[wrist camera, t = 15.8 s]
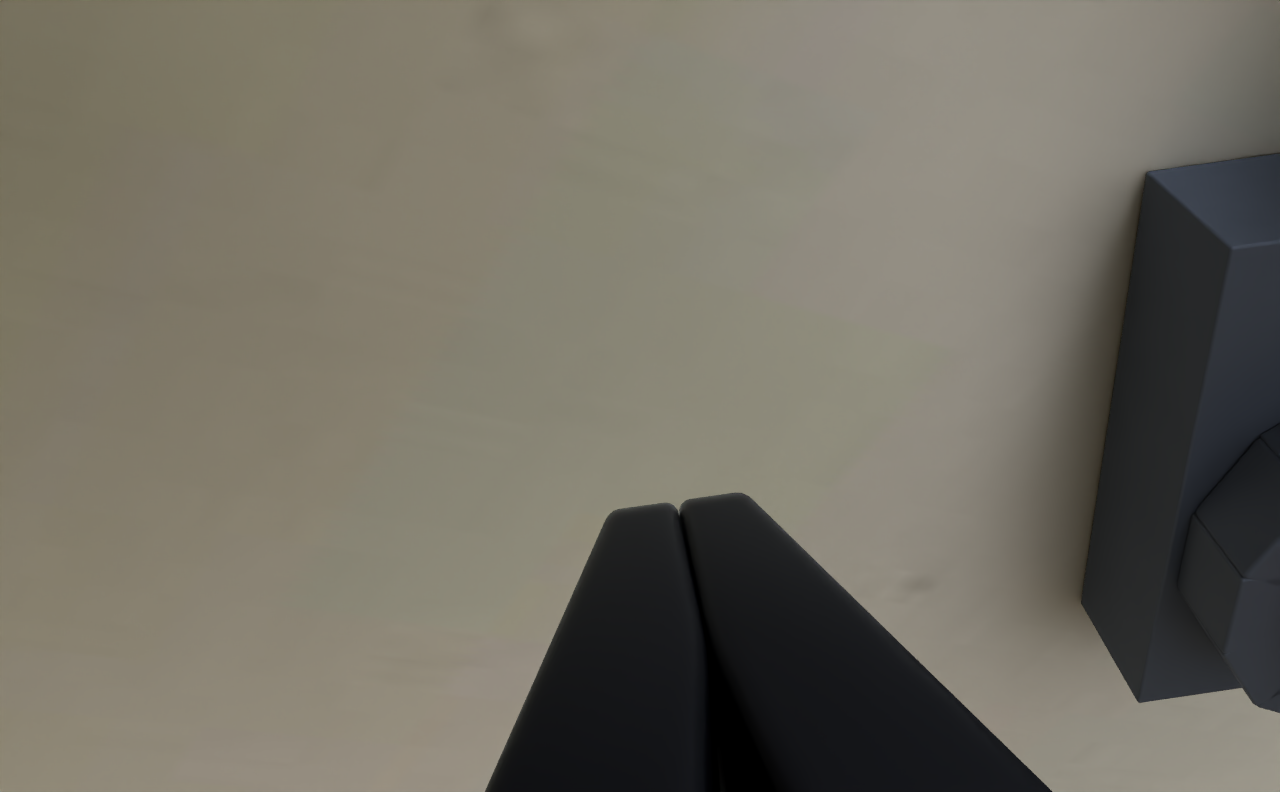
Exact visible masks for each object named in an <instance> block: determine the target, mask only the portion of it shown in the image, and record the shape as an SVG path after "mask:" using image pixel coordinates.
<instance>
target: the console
mask: <svg viewBox="0 0 1280 792" xmlns="http://www.w3.org/2000/svg"><path fill="white" fill-rule="evenodd" d="M1081 604H1082V606H1083V607H1084V609H1085V611H1086V612H1087V614H1088V616H1089V618H1090V619H1091V621H1092V623H1093V625H1094V626H1095V628H1096V630H1097V632H1098V633H1099V635H1100V637H1101V639H1102V640H1103V642H1104V644H1105V646H1106V647H1107V649H1108V651H1109V653H1110V654H1111V656H1112V658H1113V660H1114V661H1115V663H1116V665H1117V667H1118V668H1119V670H1120V672H1121V674H1122V675H1123V677H1124V679H1125V681H1126V682H1127V684H1128V686H1129V688H1130V689H1131V691H1132V693H1133V695H1134V696H1135V698H1136V700H1137V701H1138V702H1139V703H1142V702H1148V701H1155V700H1162V699H1169V698H1175V697H1182V696H1189V695H1196V694H1203V693H1209V692H1216V691H1223V690H1230V689H1236V688H1243V689H1244V691H1245V692H1246V694H1247V695H1248V697H1249V698H1250V700H1251V701H1252V703H1253V704H1255V705H1257V706H1258V707H1260V708H1264V709H1267V710H1271V711H1275V712H1278V713H1280V154H1273V155H1265V156H1258V157H1251V158H1244V159H1236V160H1229V161H1222V162H1214V163H1207V164H1200V165H1193V166H1185V167H1178V168H1171V169H1163V170H1156V171H1149V172H1147V174H1146V179H1145V186H1144V192H1143V199H1142V206H1141V212H1140V219H1139V225H1138V232H1137V238H1136V245H1135V252H1134V258H1133V265H1132V271H1131V278H1130V284H1129V291H1128V298H1127V304H1126V311H1125V317H1124V324H1123V330H1122V337H1121V344H1120V350H1119V357H1118V363H1117V370H1116V376H1115V383H1114V390H1113V396H1112V403H1111V409H1110V416H1109V422H1108V429H1107V436H1106V442H1105V449H1104V455H1103V462H1102V468H1101V475H1100V482H1099V488H1098V495H1097V501H1096V508H1095V514H1094V521H1093V527H1092V534H1091V541H1090V547H1089V554H1088V560H1087V567H1086V573H1085V580H1084V587H1083V593H1082V600H1081Z"/></svg>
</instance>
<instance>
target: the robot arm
mask: <svg viewBox="0 0 1280 792" xmlns="http://www.w3.org/2000/svg"><path fill="white" fill-rule="evenodd" d="M485 792H1052V791H1051V790H1050V789H1049V788H1048V787H1047V786H1046V785H1045V784H1044V783H1043V782H1042V781H1041V780H1040V779H1039V778H1038V777H1037V776H1036V775H1035V774H1034V773H1033V772H1032V771H1031V770H1030V769H1029V768H1028V767H1027V766H1026V765H1025V764H1024V763H1023V762H1021V761H1020V760H1019V759H1018V758H1017V757H1016V756H1015V755H1014V754H1013V753H1012V752H1011V751H1010V750H1009V749H1008V748H1007V747H1006V746H1005V745H1004V744H1003V743H1002V742H1001V741H1000V740H999V739H998V738H997V737H996V736H995V735H994V734H993V733H992V732H991V731H990V730H989V729H988V728H987V727H986V726H985V725H983V724H982V723H981V722H980V721H979V720H978V719H977V718H976V717H975V716H974V715H973V714H972V713H971V712H970V711H969V710H968V709H967V708H966V707H965V706H964V705H963V704H962V703H961V702H960V701H959V700H958V699H957V698H956V697H955V696H954V695H953V694H952V693H951V692H950V691H949V690H948V689H947V688H945V687H944V686H943V685H942V684H941V683H940V682H939V681H938V680H937V679H936V678H935V677H934V676H933V675H932V674H931V673H930V672H929V671H928V670H927V669H926V668H925V667H924V666H923V665H922V664H921V663H920V662H919V661H918V660H917V659H916V658H915V657H914V656H913V655H912V654H911V653H910V652H909V651H908V650H906V649H905V648H904V647H903V646H902V645H901V644H900V643H899V642H898V641H897V640H896V639H895V638H894V637H893V636H892V635H891V634H890V633H889V632H888V631H887V630H886V629H885V628H884V627H883V626H882V625H881V624H880V623H879V622H878V621H877V620H876V619H875V618H874V617H873V616H872V615H871V614H870V613H868V612H867V611H866V610H865V609H864V608H863V607H862V606H861V605H860V604H859V603H858V602H857V601H856V600H855V599H854V598H853V597H852V596H851V595H850V594H849V593H848V592H847V591H846V590H845V589H844V588H843V587H842V586H841V585H840V584H839V583H838V582H837V581H836V580H835V579H834V578H833V577H832V576H830V575H829V574H828V573H827V572H826V571H825V570H824V569H823V568H822V567H821V566H820V565H819V564H818V563H817V562H816V561H815V560H814V559H813V558H812V557H811V556H810V555H809V554H808V553H807V552H806V551H805V550H804V549H803V548H802V547H801V546H800V545H799V544H798V543H797V542H796V541H795V540H794V539H793V538H791V537H790V536H789V535H788V534H787V533H786V532H785V531H784V530H783V529H782V528H781V527H780V526H779V525H778V524H777V523H776V522H775V521H774V520H773V519H772V518H771V517H770V516H769V515H768V514H767V513H766V512H765V511H764V510H763V509H762V508H761V507H760V506H759V505H758V504H757V503H756V502H755V501H753V500H752V499H751V498H750V497H749V496H747V495H745V494H743V493H729V494H722V495H715V496H708V497H701V498H694V499H689V500H686V501H685V502H683V503H682V504H681V507H680V509H679V513H678V510H677V509H676V508H675V506H674V505H672V504H670V503H659V504H651V505H644V506H637V507H630V508H623V509H618V510H615V511H613V512H612V513H610V514H609V516H608V517H607V519H606V520H605V522H604V524H603V527H602V529H601V531H600V533H599V536H598V538H597V540H596V542H595V545H594V547H593V549H592V551H591V554H590V556H589V558H588V560H587V563H586V565H585V567H584V569H583V572H582V574H581V576H580V578H579V581H578V583H577V585H576V587H575V590H574V592H573V594H572V597H571V599H570V601H569V603H568V606H567V608H566V610H565V612H564V615H563V617H562V619H561V621H560V624H559V626H558V628H557V630H556V633H555V635H554V637H553V639H552V642H551V644H550V646H549V648H548V651H547V653H546V655H545V657H544V660H543V662H542V664H541V666H540V669H539V671H538V673H537V675H536V678H535V680H534V682H533V684H532V687H531V689H530V691H529V693H528V696H527V698H526V700H525V702H524V705H523V707H522V709H521V711H520V714H519V716H518V718H517V720H516V723H515V725H514V727H513V729H512V732H511V734H510V736H509V738H508V741H507V743H506V745H505V747H504V750H503V752H502V754H501V756H500V759H499V761H498V763H497V766H496V768H495V770H494V772H493V775H492V777H491V779H490V781H489V784H488V786H487V788H486V790H485Z"/></svg>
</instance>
